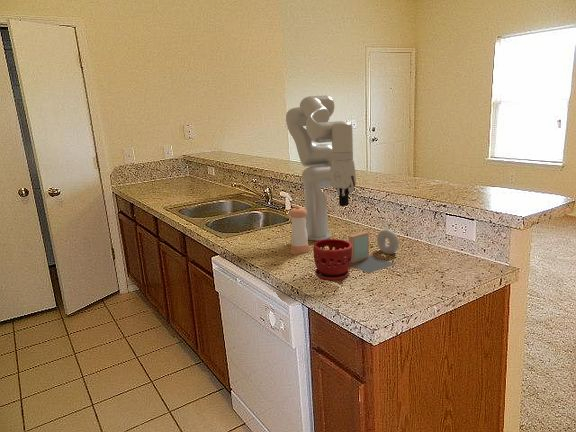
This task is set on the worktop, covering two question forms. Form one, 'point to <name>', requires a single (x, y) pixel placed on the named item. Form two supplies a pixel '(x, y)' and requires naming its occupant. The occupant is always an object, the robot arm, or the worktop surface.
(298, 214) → the pepper shaker
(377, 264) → the mat
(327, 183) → the robot arm
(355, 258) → the tile
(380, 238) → the donut
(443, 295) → the worktop surface
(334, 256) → the plant pot
